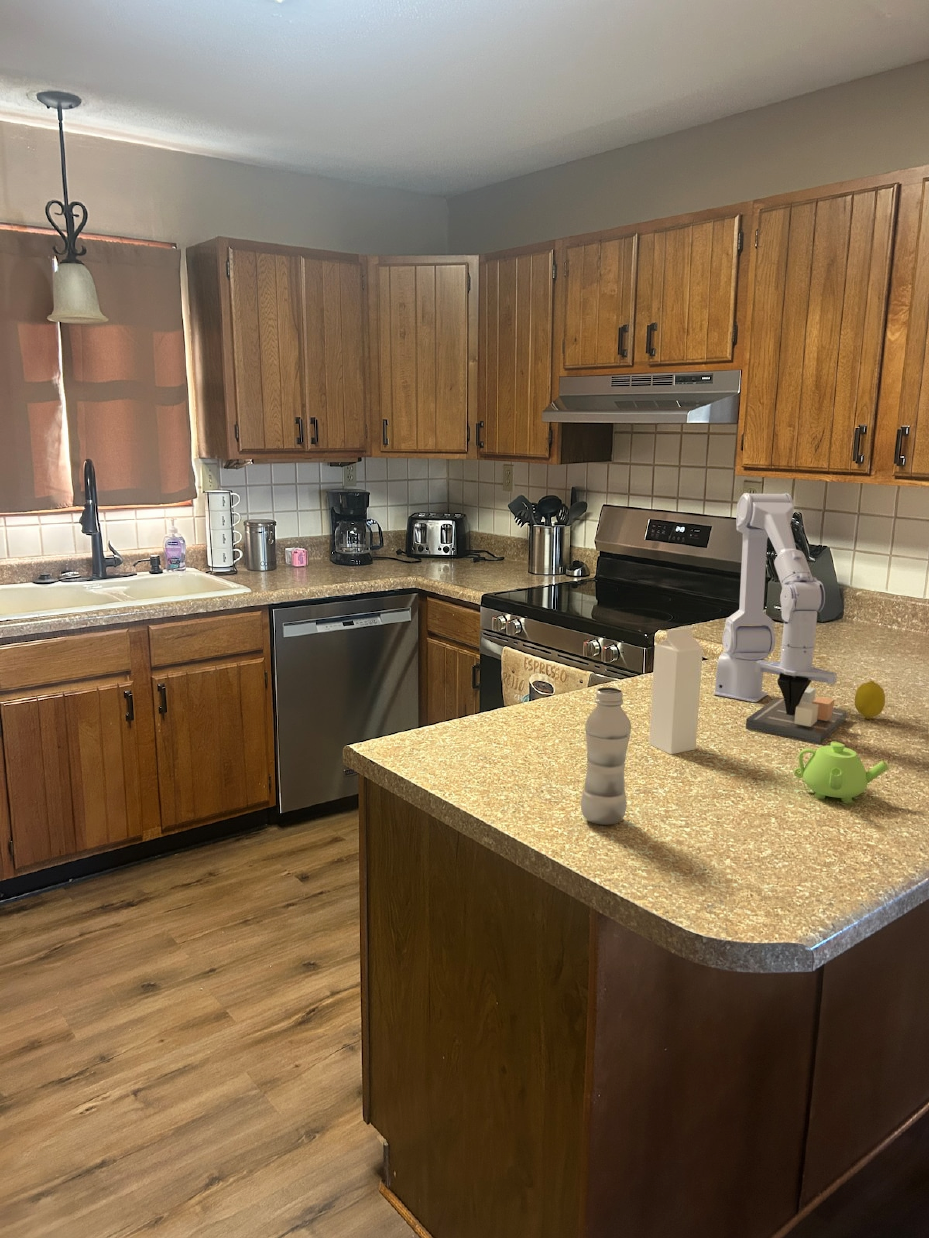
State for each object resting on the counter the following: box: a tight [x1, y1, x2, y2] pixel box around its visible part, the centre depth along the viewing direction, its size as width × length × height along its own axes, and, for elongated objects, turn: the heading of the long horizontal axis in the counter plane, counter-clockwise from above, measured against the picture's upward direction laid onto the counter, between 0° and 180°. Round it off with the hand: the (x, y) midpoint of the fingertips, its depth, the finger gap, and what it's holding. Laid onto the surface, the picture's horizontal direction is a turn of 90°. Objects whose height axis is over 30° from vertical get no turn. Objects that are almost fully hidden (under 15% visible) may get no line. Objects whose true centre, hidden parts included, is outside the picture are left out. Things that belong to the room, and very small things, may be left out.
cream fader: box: [794, 702, 818, 727], centre depth 171 cm, size 3×4×3 cm
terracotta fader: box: [812, 696, 835, 721], centre depth 175 cm, size 3×4×3 cm
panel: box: [745, 697, 848, 745], centre depth 178 cm, size 14×18×2 cm
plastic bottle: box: [580, 686, 632, 826], centre depth 131 cm, size 6×7×20 cm
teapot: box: [793, 741, 890, 804], centre depth 144 cm, size 11×12×8 cm
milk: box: [648, 627, 704, 755], centre depth 162 cm, size 6×6×22 cm
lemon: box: [854, 680, 886, 720], centre depth 181 cm, size 6×6×8 cm
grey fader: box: [799, 686, 816, 704], centre depth 182 cm, size 3×4×3 cm
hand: (791, 713), depth 173 cm, fingers closed
